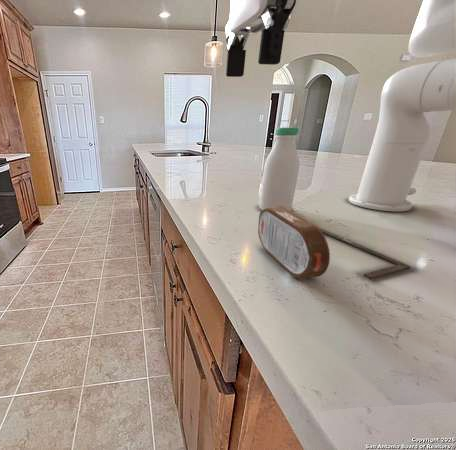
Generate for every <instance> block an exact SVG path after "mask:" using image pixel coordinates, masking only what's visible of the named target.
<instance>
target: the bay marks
mask: <svg viewBox="0 0 456 450" xmlns="http://www.w3.org/2000/svg"><path fill="white" fill-rule="evenodd" d="M318 228H319V229H320V230H321V231H322V233H323V234H324V235H325V236H328V237H331V238H332V239H335V240H338V241H340V242H342V243H345V244H346V245H349V246H351V247H354V248H356V249H358V250H361V251H363V252H366V253H368V254H370V255H373V256H374V257H377V258H379V259H382V260H383V261H386V262H389V263H390V264H393V265H391V266H388V267H384V268H380V269H376V270H373V271H369V272H365V273H363V275H362V276H364V277H365V278H367V279H369V280H372V279H376V278H379V277H383V276H386V275H390V274H393V273H397V272H400V271H404V270H408V269H411V268H412V266H411V265H409V264H406V263H404V262H402V261H399V260H397V259H394V258H392V257H389V256H387V255H385V254H383V253H381V252H378V251H375V250H373V249H371V248H369V247H366V246H363V245H361V244H359V243H357V242H354V241H351V240H349V239H347V238H345V237H342V236H339V235H338V234H335V233H332V232H330V231H328V230H325V229H323V228H321V227H318Z"/></svg>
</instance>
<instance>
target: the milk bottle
mask: <svg viewBox="0 0 456 450" xmlns="http://www.w3.org/2000/svg"><path fill="white" fill-rule="evenodd" d="M298 134H299V127H297V126H283V127H281V126H280V127H277V128H276V129H275V142H274V145H273V146H272V148H271V150H270V152H269V154H268V155H267V157H266V159H265V162H264V169H263V173H262V180H261V186H260V195H259V202H258V207H259V210H260V211H262V210H264V209H265V208H270V207H276V206H284V207H286V208H287V209H289V210H291V211H292V207H293V204H294V203H293V202H294V198H295V193H296V186H297V181H298V176H299V169H300V158H299V157H300V156H299V153H298V150H297V145H296V140H297V138H298Z"/></svg>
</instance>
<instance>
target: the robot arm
mask: <svg viewBox="0 0 456 450" xmlns="http://www.w3.org/2000/svg"><path fill="white" fill-rule="evenodd" d="M296 4H297V0H230V5H229V7H230V8H229V17H228V18H229V20H228V22H227V24H226V26H225V35H226V39H225V42H226V51H227V55H226V67H225V69H226V71H225V76H226V77H228V78H229V77H230V78H231V77H232V78H241V77H243V76H244V74H245V65H246V54H247V49H245V47H246V44H247V41H248V39H249V37H250V34H251V35H257V34H259V33H261V34H260V43H259V52H258V60H257V62H258V65H273V66H275V65H279V64H280V62H281V59H282V51H283V46H284V45H283V44H284V37H285V31H286V29H287V28H288V27H289V24H290V18H289V17H290V15H291V14H292V12H293V11H294V8H295V6H296ZM239 36H241V38H239ZM407 48H408V49H407V50H408V53H409V55H411V56H412V57H414V58H419V59H420V58H421V59H423V58H430V57H438V56H442V55H448V54H453V53H456V0H423V1H422V4H421V7H420V9H419V11H418V15H417V18H416V19H415V23H414V26H413V29H412V32H411V34H410V38H409V41H408V47H407ZM449 111H451V112H452V111H456V57H455V58H449V59H441V60H436V61H429V62H423V63H419V64H415V65H410V66H407V67H405V68H402V69H400V70H398V71H396V72H394V73H393V74H392V75H391V76H390V77H389V78H388V79H386V81H385V83H384V85H383V88H382V91H381V94H380V106H379V116H378V121H377V126H376V130H375V133H374V137H373V140H372V143H371V147H370V150H369V154H368V157H367V161H366V164H365V167H364V170H363V175H362V177H361V180H360V184H359V188H358V191H357V193H354V194H351V195H349V197H348V201H349V203H350V204H353V205H355V206H358V207H361V208H365V209H369V210H374V211H383V212H407V211H411V209H412V208H413V206H414V204H413V203H412V202H411V201H409V200H408V199H407V197H408V196H411V195H415V194H416V192H417V189H416V188H415V187H414V186H412V184H413V182H414V179H415V176H416V174H417V171H418V169H419V166H420V163H421V160H422V158H423V155H424V153H425V150H426V147H427V145H428V142H429V140H430V136H431V127H430V123H429V121H428V120H427V117H426V116H425V113H430V112H449Z"/></svg>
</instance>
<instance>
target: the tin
mask: <svg viewBox="0 0 456 450" xmlns="http://www.w3.org/2000/svg"><path fill="white" fill-rule="evenodd" d="M257 227H258V228H257V229H258V230H257V233H258V234H257V235H258V238H259V241H260V244H261V245H262V247H263V249H264V250H265V251H266V252H267V254H269V255H270V256H271V257H272V258H273V259H274V260H275V261H276V262H277V263H278V264H279V265H280V266H281V267H282V268H283V269H284V270H285V271H286V272H287V273H289V274H290V275H291V276H292V277H294V278H297V279H307V278H319V277H321V276H323V275H324V274H325V273H326V271H327V270H328V268H329V266H330V259H331V254H330V248H329V247H330V246H329V244H328V240H327V238H326V235H325V234H324V233H322V231H321V230H320V229H321V228H320V227H319V226H318V225H316V224H315V223H314V222H312V221H310V220H309V219H307V218H305V217H304V216H301V215H299V214H297V213H296V212H294V211H292V209H291V210H289V209H287V208H286V207H284V206H276V207H270V208H265V209H264V210H260V213H259V215H258V226H257ZM319 228H320V229H319Z"/></svg>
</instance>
